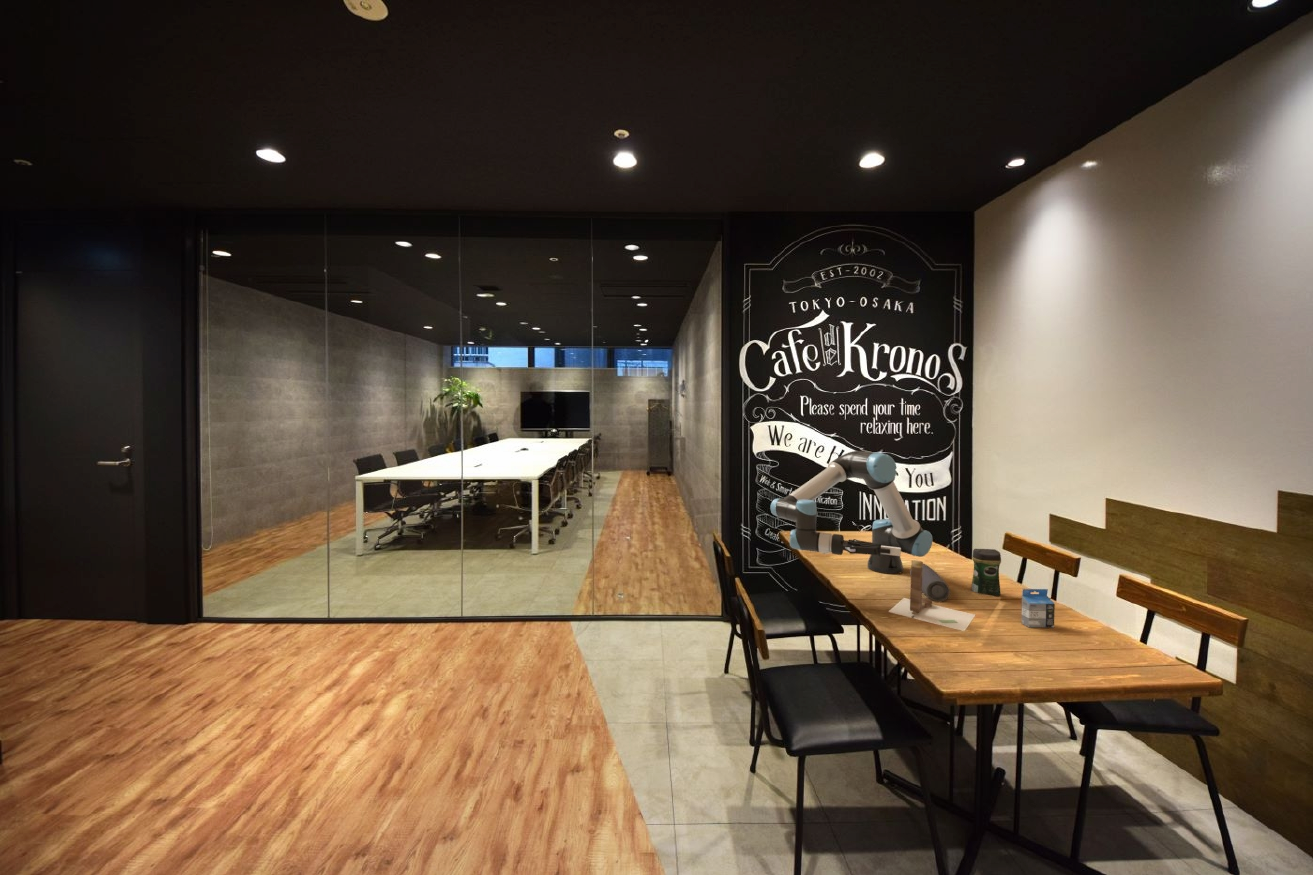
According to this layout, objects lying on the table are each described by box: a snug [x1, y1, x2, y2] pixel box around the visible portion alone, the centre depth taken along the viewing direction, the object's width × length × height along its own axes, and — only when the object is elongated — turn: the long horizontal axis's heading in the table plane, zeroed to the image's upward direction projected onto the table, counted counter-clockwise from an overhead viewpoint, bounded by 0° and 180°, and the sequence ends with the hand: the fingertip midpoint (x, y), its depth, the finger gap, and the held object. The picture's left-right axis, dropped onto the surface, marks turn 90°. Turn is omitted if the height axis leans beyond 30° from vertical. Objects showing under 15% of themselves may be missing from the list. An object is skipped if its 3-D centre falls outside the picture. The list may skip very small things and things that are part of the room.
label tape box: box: [1020, 588, 1056, 628], centre depth 177 cm, size 9×4×12 cm, turn 89°
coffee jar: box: [970, 548, 1002, 598], centre depth 206 cm, size 10×8×19 cm
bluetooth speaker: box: [909, 563, 951, 602], centre depth 206 cm, size 23×9×10 cm, turn 168°
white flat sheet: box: [888, 597, 976, 632], centre depth 184 cm, size 24×18×2 cm
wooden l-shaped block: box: [909, 559, 933, 615], centre depth 186 cm, size 16×5×19 cm, turn 138°
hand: (900, 551), depth 184 cm, fingers closed
